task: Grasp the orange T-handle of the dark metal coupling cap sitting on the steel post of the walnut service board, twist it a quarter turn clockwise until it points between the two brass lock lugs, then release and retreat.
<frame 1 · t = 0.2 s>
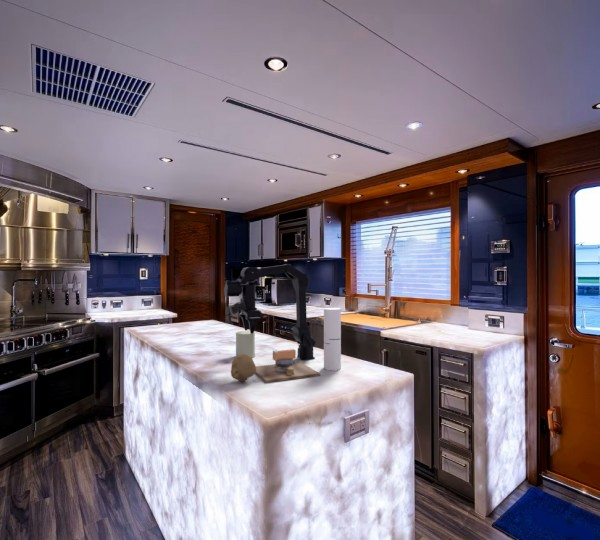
hand: (248, 331, 155), 14 cm above the countertop, fingers open, 9 cm apart
can: (245, 356, 171), on the countertop
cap: (284, 357, 143), point 6 cm above the countertop, hinge at 0.0°
post board: (284, 372, 143), on the countertop
cylindrical container: (332, 368, 150), on the countertop
natural sponge: (243, 382, 131), on the countertop
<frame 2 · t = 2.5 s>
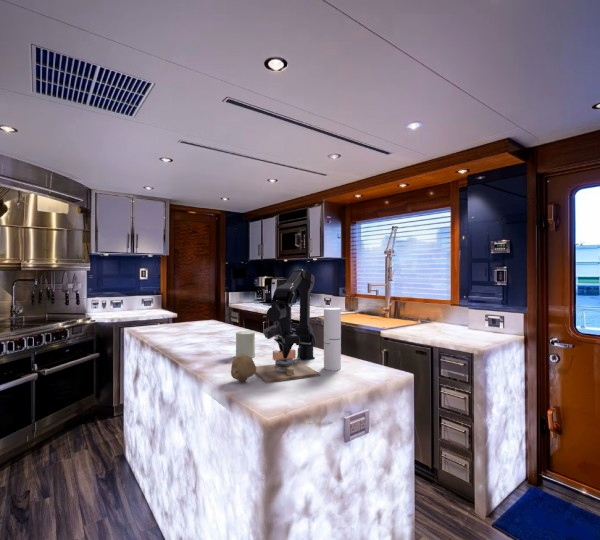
hand: (284, 357, 143), 6 cm above the countertop, fingers closed on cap, 2 cm apart
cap: (284, 357, 143), point 6 cm above the countertop, hinge at 0.0°, touching gripper
everything else where it was.
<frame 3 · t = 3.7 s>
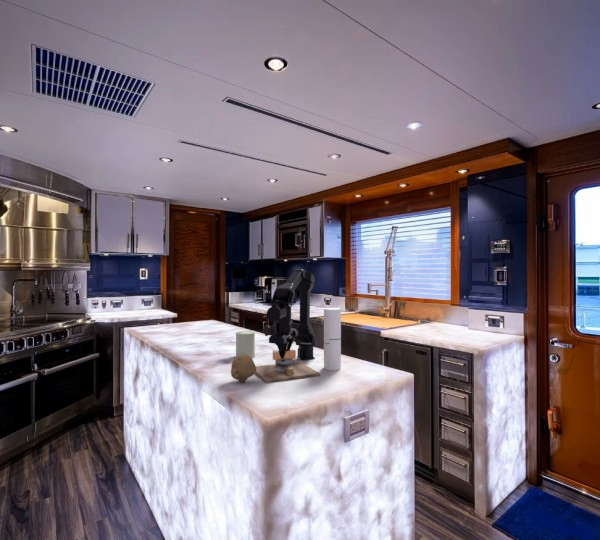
hand: (284, 357, 143), 6 cm above the countertop, fingers closed on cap, 4 cm apart
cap: (284, 357, 143), point 6 cm above the countertop, hinge at -8.7°, touching gripper
everything else where it was.
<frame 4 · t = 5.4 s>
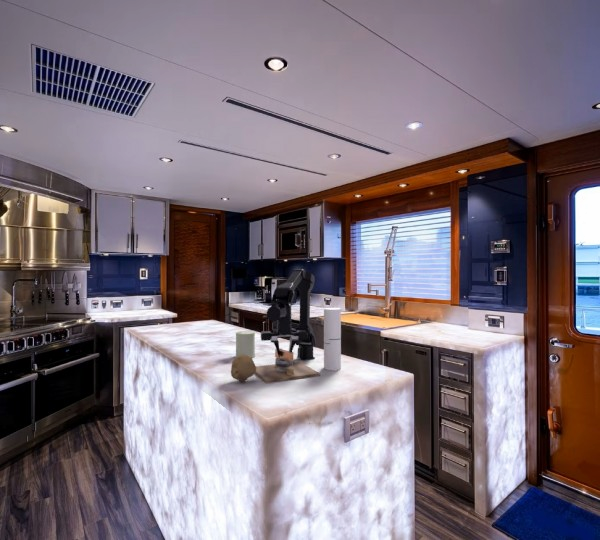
hand: (284, 356, 143), 6 cm above the countertop, fingers closed on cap, 4 cm apart
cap: (284, 357, 143), point 6 cm above the countertop, hinge at -72.8°, touching gripper
everything else where it was.
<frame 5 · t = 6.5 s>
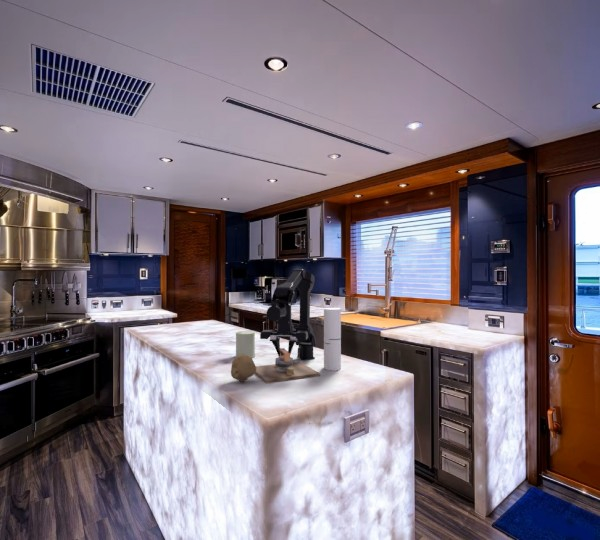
hand: (284, 356, 143), 6 cm above the countertop, fingers closed on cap, 4 cm apart
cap: (284, 357, 143), point 6 cm above the countertop, hinge at -95.1°, touching gripper
everything else where it was.
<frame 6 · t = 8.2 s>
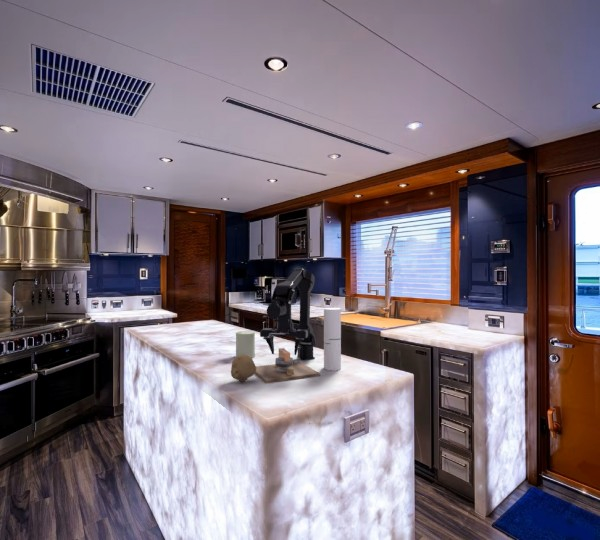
hand: (284, 354, 143), 7 cm above the countertop, fingers open, 9 cm apart
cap: (284, 357, 143), point 6 cm above the countertop, hinge at -95.1°
everything else where it was.
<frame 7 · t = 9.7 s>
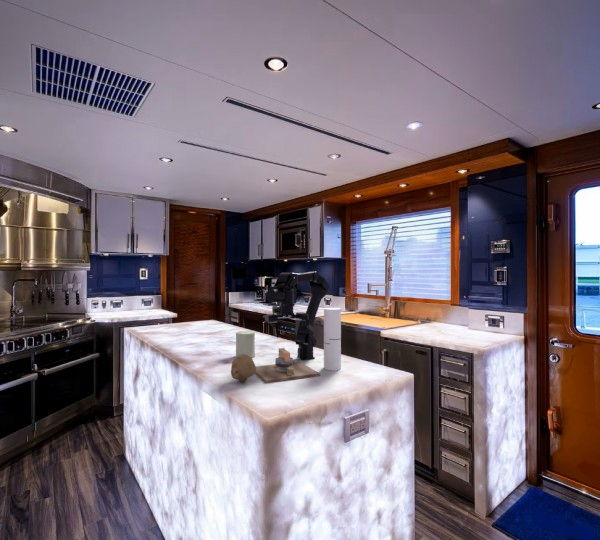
hand: (286, 336, 157), 12 cm above the countertop, fingers open, 9 cm apart
nothing on the countertop moved.
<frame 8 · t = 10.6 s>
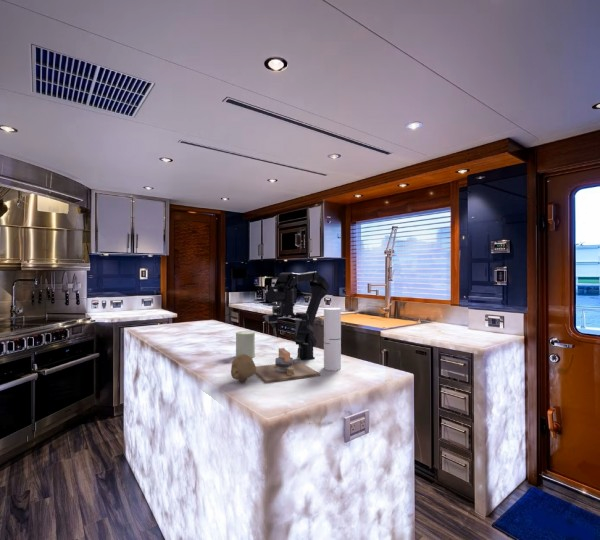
hand: (286, 336, 157), 12 cm above the countertop, fingers open, 9 cm apart
nothing on the countertop moved.
at the end: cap at -95° (first picture: +0°); the gripper is holding nothing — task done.
